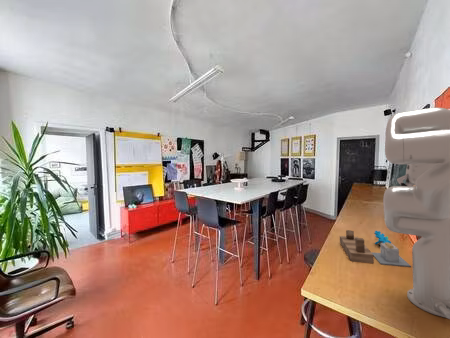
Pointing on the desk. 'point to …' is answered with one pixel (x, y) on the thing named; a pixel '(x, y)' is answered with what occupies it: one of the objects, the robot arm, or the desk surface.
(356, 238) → the brown stepped block
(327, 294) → the desk surface
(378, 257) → the mat
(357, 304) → the desk surface
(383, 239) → the blue bumpy piece
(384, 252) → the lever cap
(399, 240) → the desk surface
